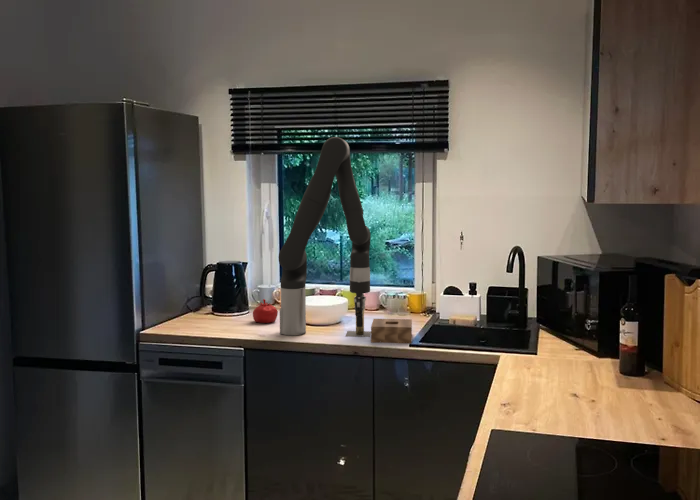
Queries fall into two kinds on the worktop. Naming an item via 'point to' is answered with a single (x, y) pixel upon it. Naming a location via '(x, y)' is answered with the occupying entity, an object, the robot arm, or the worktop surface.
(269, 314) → the pomegranate
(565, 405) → the worktop surface
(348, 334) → the mat
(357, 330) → the peg
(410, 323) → the hole block
